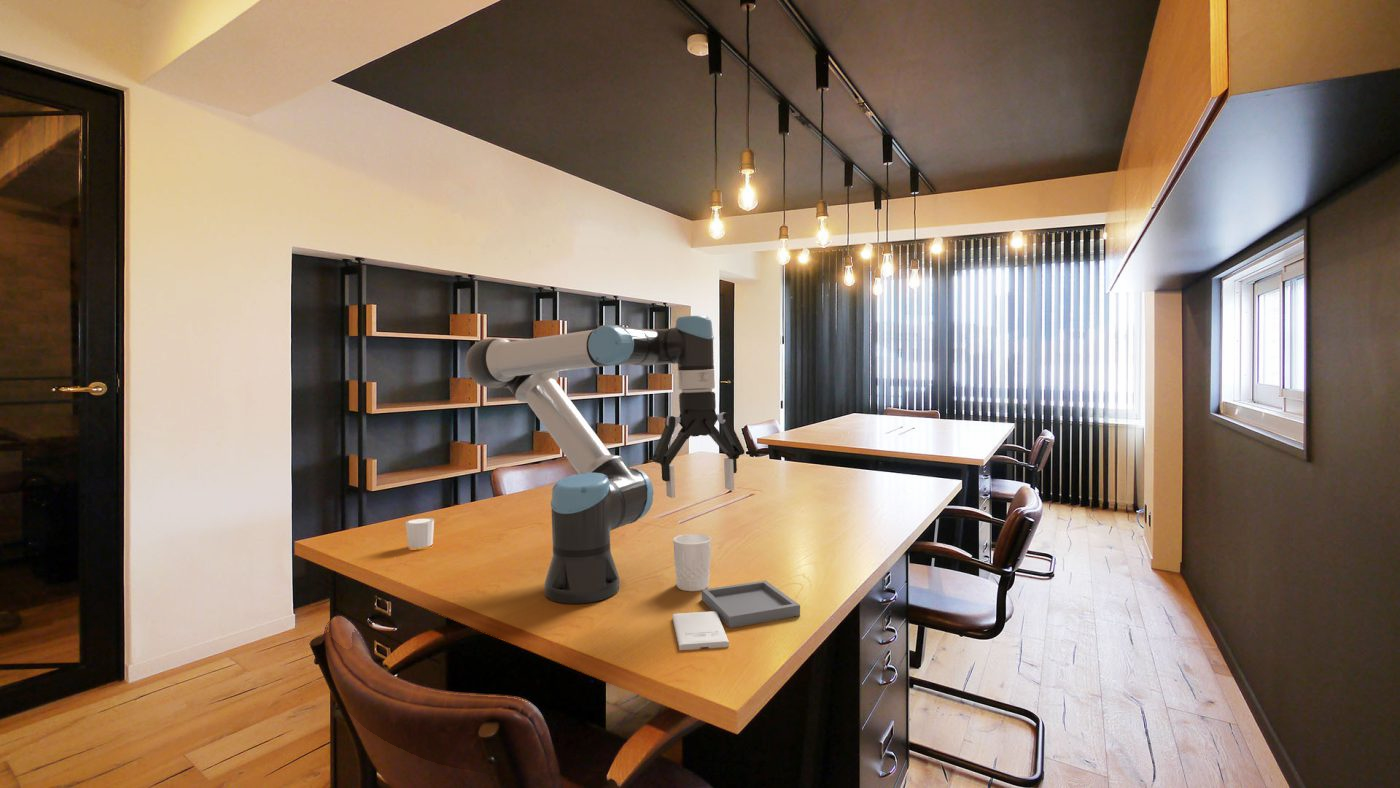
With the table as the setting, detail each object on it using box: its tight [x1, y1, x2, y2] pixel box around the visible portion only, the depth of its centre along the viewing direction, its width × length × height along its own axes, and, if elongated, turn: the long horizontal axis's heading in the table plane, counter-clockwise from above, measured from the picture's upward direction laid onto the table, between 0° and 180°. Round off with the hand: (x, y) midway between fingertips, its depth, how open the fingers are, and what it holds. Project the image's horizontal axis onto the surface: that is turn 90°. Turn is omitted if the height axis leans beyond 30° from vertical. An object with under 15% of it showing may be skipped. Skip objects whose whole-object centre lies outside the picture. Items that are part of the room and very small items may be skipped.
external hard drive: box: [672, 610, 730, 651], centre depth 104 cm, size 2×8×12 cm
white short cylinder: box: [405, 517, 435, 548], centre depth 157 cm, size 7×7×7 cm
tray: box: [701, 580, 801, 629], centre depth 115 cm, size 14×14×2 cm
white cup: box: [673, 533, 712, 592], centre depth 127 cm, size 8×8×10 cm
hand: (701, 493), depth 126 cm, fingers open, 13 cm apart
